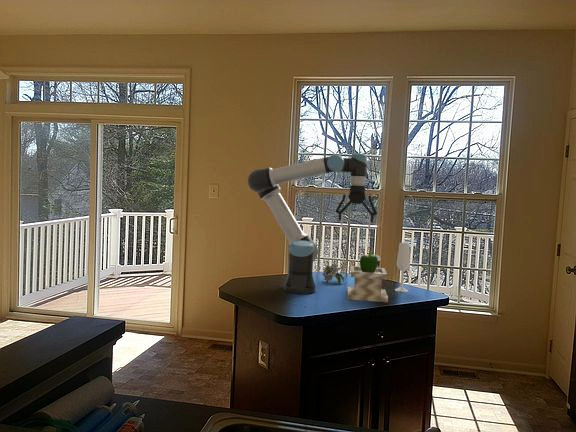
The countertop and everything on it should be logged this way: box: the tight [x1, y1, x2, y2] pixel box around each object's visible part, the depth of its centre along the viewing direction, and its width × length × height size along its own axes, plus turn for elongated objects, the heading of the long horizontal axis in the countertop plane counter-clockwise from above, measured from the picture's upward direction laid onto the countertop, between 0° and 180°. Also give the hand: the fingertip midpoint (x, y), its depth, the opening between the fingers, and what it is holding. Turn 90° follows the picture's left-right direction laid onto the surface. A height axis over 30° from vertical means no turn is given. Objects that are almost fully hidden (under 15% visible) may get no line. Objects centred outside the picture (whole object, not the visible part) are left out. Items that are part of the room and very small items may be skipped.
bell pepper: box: [359, 251, 378, 273], centre depth 215 cm, size 8×8×10 cm
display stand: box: [346, 265, 389, 303], centre depth 216 cm, size 18×18×12 cm
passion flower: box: [321, 263, 348, 285], centre depth 245 cm, size 11×11×12 cm
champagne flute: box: [394, 242, 411, 293], centre depth 232 cm, size 7×7×24 cm
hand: (355, 228), depth 228 cm, fingers open, 13 cm apart
